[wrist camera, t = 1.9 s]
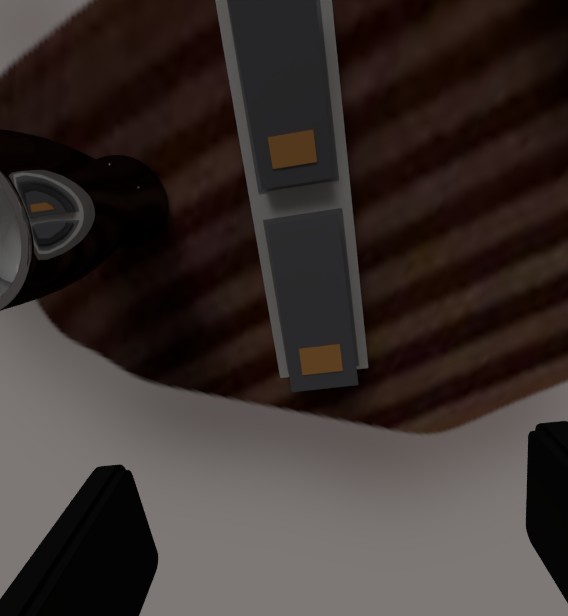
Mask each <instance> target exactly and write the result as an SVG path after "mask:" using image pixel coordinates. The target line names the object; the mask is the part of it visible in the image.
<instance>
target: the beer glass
mask: <svg viewBox="0 0 568 616" xmlns="http://www.w3.org/2000/svg"><path fill="white" fill-rule="evenodd" d="M166 215H167V198H166V194H165V190H164V188H163V185H162V183H161V182H160V180H159V178H158V177H157V176H156V174H155V173H154V172H153V171H152V170H151V169H150V168H149V167H148V166H147V165H145V164H144V163H142V162H141V161H139V160H137V159H135V158H132V157H129V156H124V155H110V156H104V157H101V158H98V159H95V158H93V157H90V156H88V155H86V154H84V153H82V152H80V151H78V150H75V149H73V148H71V147H69V146H66V145H63V144H61V143H58V142H55V141H52V140H49V139H46V138H43V137H40V136H35V135H30V134H26V133H21V132H16V131H10V130H1V129H0V311H1V310H4V309H7V308H11V307H14V306H17V305H21V304H23V303H26V302H30V301H33V300H36V299H39V298H41V297H44V296H46V295H49V294H51V293H54V292H56V291H59V290H61V289H63V288H65V287H67V286H69V285H71V284H73V283H74V282H76V281H78V280H80V279H82V278H83V277H85V276H86V275H88V274H89V273H90V272H92V271H93V270H94V269H96V268H97V267H98V266H99V265H101V264H102V263H103V262H104V261H105V260H106V259H107V258H108V257H109V256H110V255H112V254H113V253H114V252H115V251H116V250H117V249H118V248H130V247H136V246H140V245H143V244H145V243H147V242H149V241H150V240H152V239H153V238H154V237H155V236H156V235H157V234H158V233H159V231H160V230H161V228H162V227H163V225H164V222H165V219H166Z"/></svg>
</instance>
